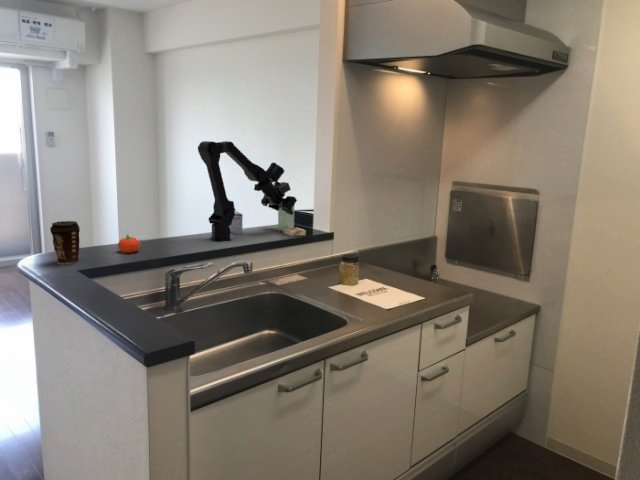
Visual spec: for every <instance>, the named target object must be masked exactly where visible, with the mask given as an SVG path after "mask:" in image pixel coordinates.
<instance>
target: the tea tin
mask: <svg viewBox="0 0 640 480" xmlns="http://www.w3.org/2000/svg"><path fill="white" fill-rule="evenodd" d="M295 204H296V203H295ZM295 204H294V206H293V207H292V211H293V215H290V214H289V213H287V212H285V211H283V210H281V209H282V203H281V205H279V204H278V211H277V215H278V216H277V218H278V219H277V221H278V223H277V231H278V232H279V231H280V232H283V229H286V228H295Z"/></svg>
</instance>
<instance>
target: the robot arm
mask: <svg viewBox="0 0 640 480" xmlns="http://www.w3.org/2000/svg"><path fill="white" fill-rule="evenodd" d="M197 151H198V155H199V156H200V159H201V160H202V162H203V163H204V164H205V166H206V169H207V173H208V178H209V181H210V185H211V191H212V193H213V197H214V201H213V202H214V203H213V206H212V207H213V212H212V214H211V215H210V216H209V217H208V222H209V225H210V224H211V236H210V237H209V239H210V240H212V241H215V242H222V241H232V240H231V232H230V228H229V225H231V224H232V220H233V218H234V216H235V211H236V212H237V209H236V207H235V202H234V200H233V201H232V200H229V199H228V196H227V193H226V188H225V184H224V180H223V179H224V178H223V175H222V172H221V166H220V161H221V160H220V159H221V154H224V153H225V154H226V155H227V156H228V157H230V158H231V159H232V161H233V162H235V163H236V164H237V165H238V166H239V167H240V168H241V169H242V170H243V172H244V173H243V174H244V175H245V177H246V178H247V179H248V180H249V181H250V182H257V184H256V183H255V184H254V188H253V190H254V191H256V192H261V193H262V194H263V197H262V199H261V200H260V204H261V205H262V206H264V207H268V208H269V209H271V210H275V211H277V212H278V204H279V205H281V203H282V209H281V210H283V211H285V212H287V213H289V214H290V215H293V211H292V207H293V206H294V204H296V203H297V201H298V199H297V198H296V196H291V195H287V196H286V193H288V192H289V191H291V186H290V184H289V182H285V181H283V182H280V181H279V180H280V179H281V177H282V176H283V175H284V173H285V169H284V167H281V166H280V165H279V164H277V163H276V162H271V163H270V165H269V167H268V168H267V169H266V170H265V168H262V167H261V166H260V165H259V164H255V163H254V162H252V161H251V160H250V159H249V158H248V157H247V156H246V155H245V154H244V153H243V152H242V151H241V150H240V149H239V148H238V147H237V146H236V145H235V144H234V143H233V141H228V140H225V141H219V142H215V141H208V140H207V141H206V140H205V141H203V140H202V141H201V142H200V143H199V144H198V146H197ZM285 196H286V197H285ZM294 207H295V206H294Z"/></svg>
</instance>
